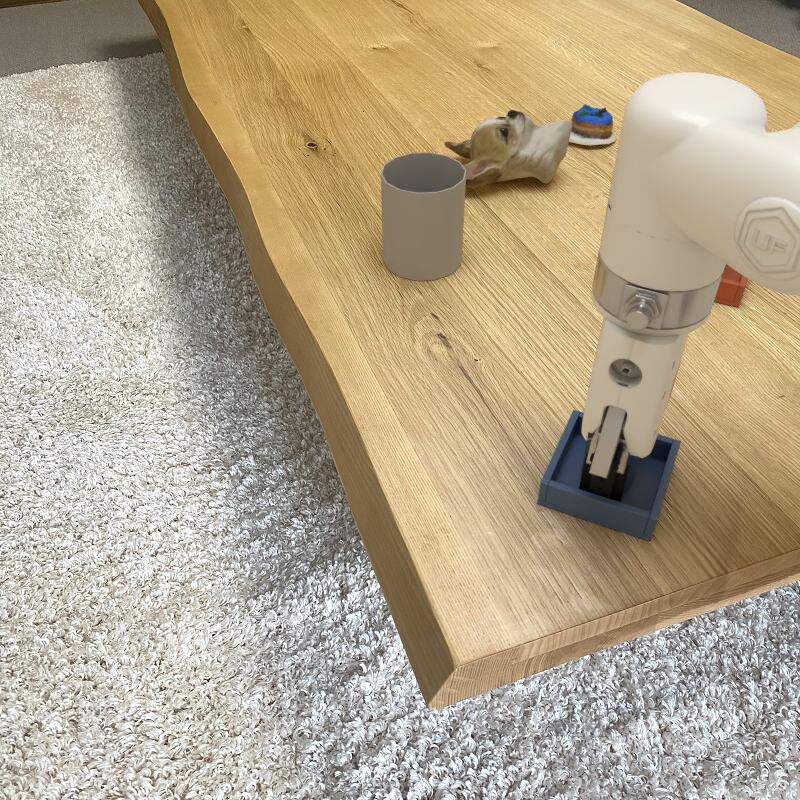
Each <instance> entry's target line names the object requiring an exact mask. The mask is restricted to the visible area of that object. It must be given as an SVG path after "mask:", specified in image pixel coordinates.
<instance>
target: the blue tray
mask: <svg viewBox="0 0 800 800" xmlns="http://www.w3.org/2000/svg"><path fill="white" fill-rule="evenodd" d="M583 415H584V411H580V410H577V409H573V410H572V412H571V414H570V416H569V418H568V421H567V422H566V425H565V427H564V429H563V432H562V434H561V435H560V438H559V441H558V443H557V445H556V447H555V450H554V451H553V454H552V455H551V458H550V460H549V463H548V464H547V467H546V469H545V471H544V473H543V476H542V478H541V480H540V483H539V484H540V485H539V489H538V496H537V500H536V501H537V502H536V503H537V505H539V506H543V507H545V508H549V509H551V510H554V511H557V512H560V513H564V514H565V515H569V516H573V517H576V518H578V519H581V520H585V521H588V522H591V523H593V524H597V525H600V526H603V527H605V528H609V529H612V530H613V531H617V532H621V533H624V534H627V535H630V536H631V537H632V536H633V537H635V538H637V539H638V538H639V539H642V540H644V541H648V542H651V541H652V538H653V535H654V533H655V532H654V531H655V529H656V525H657V522H658V519H659V515H660V512H661V509H662V506H663V503H664V499H665V496H666V493H667V489H668V485H669V483H670V479H671V477H672V473H673V470H674V466H675V463H676V459H677V456H678V453H679V451H680V447H681V444H682V441H681V440H679V439H676V438H672V437H670V436H666V435H662V434H659V433H658V435H657V438H656V441H655V444H654V446H653V449H652V451H651V453H650V454H649V455H648V456H646V457H644V458H639V461H638V465H637V468H636V472H635V476H634V479H633V483H632V485H631V487H630V488H629V489H628V490H627V491H626V492H624V493H623V495H622V499H621V502H618V501H615V500H611V499H608V498H605V497H602V496H599V495H596V494H593V493H590V492H587V491H583V490H580V489H579V485H580V481H581V468H582V464H583V459H584V454H585V449H586V445H587V441H586V440H585V438H584V437H583V435H582V422H583Z"/></svg>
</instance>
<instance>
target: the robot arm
mask: <svg viewBox="0 0 800 800" xmlns="http://www.w3.org/2000/svg"><path fill="white" fill-rule="evenodd" d="M767 129H768V112H767V108H766V105H765V102H764V100H763V99H762V98H761V96H760V95H759V94H758V93H757V92H756V91H754V90H753V89H752V88H751V87H749V86H748V85H746V84H744V83H742V82H740V81H737V80H735V79H732V78H729V77H725V76H721V75H718V74H712V73H707V72H696V71H695V72H694V71H683V72H671V73H665V74H661V75H658V76H655V77H653V78H651V79H649V80H647V81H645V82H643V83H642V84H641V85H640V86H639V87H637V89H635V91H634V92H633V93H632V95H631V96H630V97H629V100H628V102H627V104H626V106H625V109H624V114H623V117H622V123H621V128H620V133H619V138H618V144H617V149H616V155H615V161H614V166H613V173H612V176H611V182H610V187H609V194H608V198H607V203H606V209H605V215H604V222H603V226H602V232H601V237H600V243H599V249H598V254H597V259H596V265H595V268H594V269H595V270H594V274H593V275H594V276H593V280H592V285H591V292H590V294H591V295H590V297H591V302H592V304H593V306H594V308H595V309H596V311H597V312H598V313H599V314H600V315H601V316H602V317H603V318H602V322H601V327H600V331H599V336H598V341H597V344H596V350H595V355H594V358H593V363H592V369H591V373H590V374H591V375H590V379H589V382H588V383H589V384H588V388H587V394H586V399H585V403H584V408H583V409H584V410H583V412H584V415H583V422H582V435H583V437H584V438H585V440H586V441H588V440H589V439H592V440H591V444H590V449H589V453H588V452H587V455H586V457H585V462H584V466H583V471H582V476H581V481H580V485H579V489H580V490H583V491H587V492H590V493H593V494H596V495H599V496H602V497H605V498H608V499H611V500H615V501H618V502H621V499H622V495H623V492H624V488H625V484H626V481H627V477H628V473H629V470H630V465H627V462H628V459H629V455H634V456H637V457H639V458H644V457H646V456H648V455H649V454H650V453H651V451H652V449H653V446H654V444H655V441H656V438H657V435H658V434H659V432H660V429H661V426H662V424H663V420H664V417H665V415H666V412H667V409H668V406H669V402H670V399H671V396H672V394H673V393H672V392H673V390H674V386H675V382H676V379H677V376H678V372H679V369H680V366H681V362H682V359H683V356H684V352H685V349H686V345H687V341H688V337H689V333H691V332H694V331H696V330H697V329H699V328H701V327H702V326H703V325H705V324H706V322H707V321H708V319H709V318H710V316H711V314H712V313H711V312H712V309H713V306H714V303H715V302H714V300H715V297H716V293H717V290H718V287H719V284H720V280H721V277H722V274H723V271H724V268H725V265H726V264H727V265H728V266H730V267H731V268H733V269H734V270H735V271H737V272H738V273H740V274H741V275H743V276H745V277H746V278H748V280H749V281H751V282H753V283H754V284H757V285H758V286H760V287H762V288H764V289H767V290H769V291H772V292H775V293H779V294H783V295H787V296H796V297H797V296H798V297H800V121H798V122H797V123H796V124H794V125H793V126H792V127H790V128H788V129H783V130H776V131H771V132H769V131H767ZM623 430H624V431H623ZM617 445H620V446H623V449H622V453H621V456H620V457H619V456H616V455H615V452H616V449H617Z"/></svg>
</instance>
